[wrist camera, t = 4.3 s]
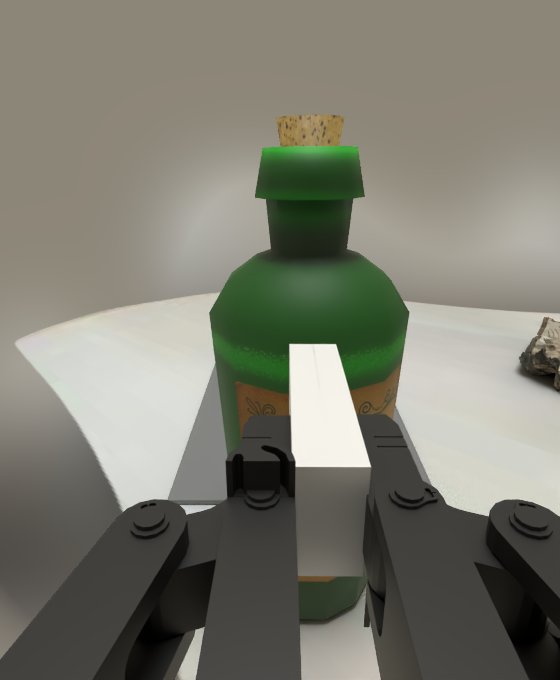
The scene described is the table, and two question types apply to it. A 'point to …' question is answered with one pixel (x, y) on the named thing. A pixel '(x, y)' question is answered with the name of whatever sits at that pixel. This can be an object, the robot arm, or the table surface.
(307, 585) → the bottle
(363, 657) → the table surface
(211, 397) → the mat
